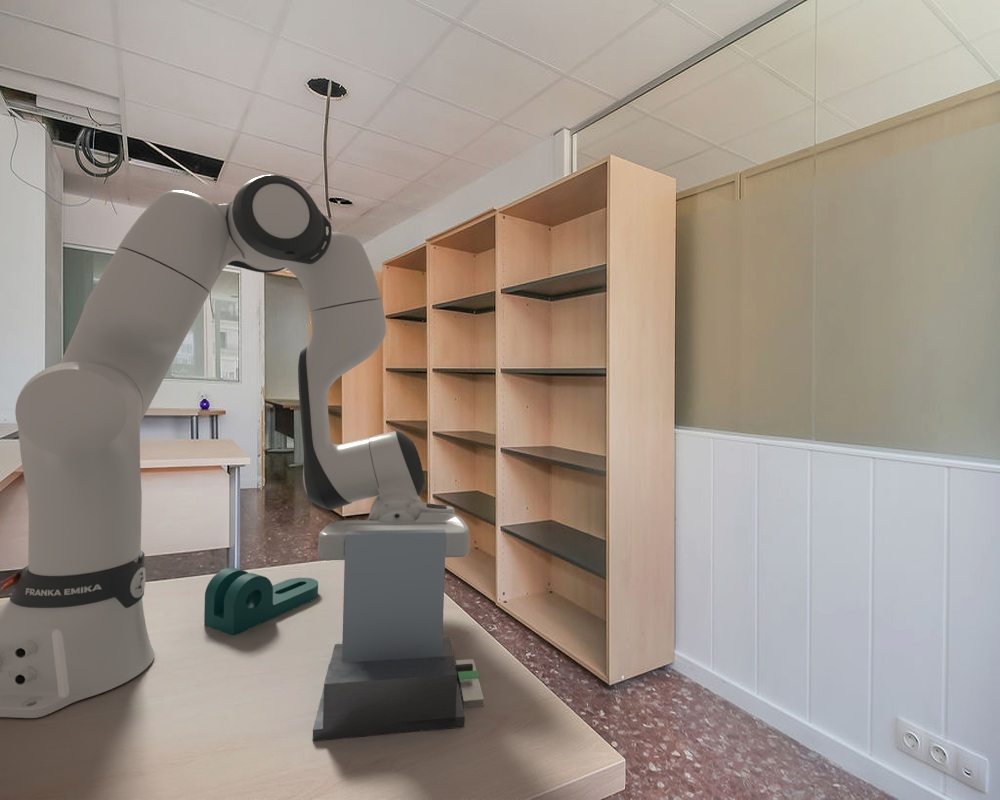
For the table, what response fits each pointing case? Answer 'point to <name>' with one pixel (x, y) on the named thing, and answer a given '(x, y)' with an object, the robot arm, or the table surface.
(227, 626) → the bracket
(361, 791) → the table surface
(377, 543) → the grey upright panel
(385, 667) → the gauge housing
